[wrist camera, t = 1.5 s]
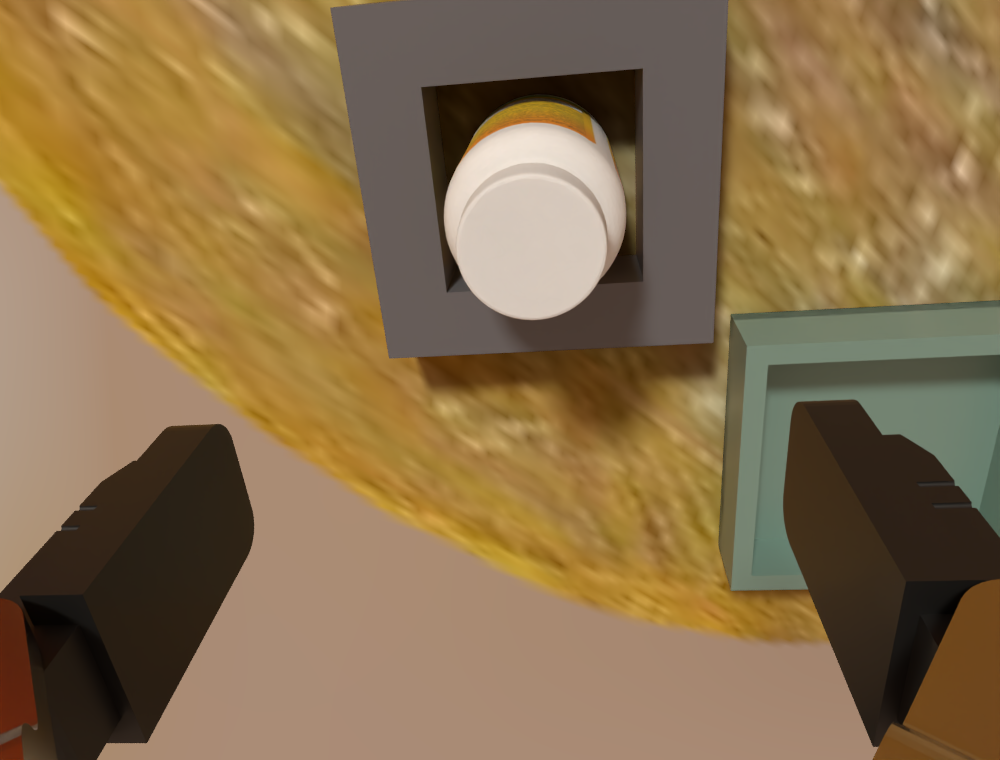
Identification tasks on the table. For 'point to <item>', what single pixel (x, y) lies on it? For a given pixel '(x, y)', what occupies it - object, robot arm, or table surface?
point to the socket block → (528, 54)
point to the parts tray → (876, 386)
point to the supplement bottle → (535, 208)
